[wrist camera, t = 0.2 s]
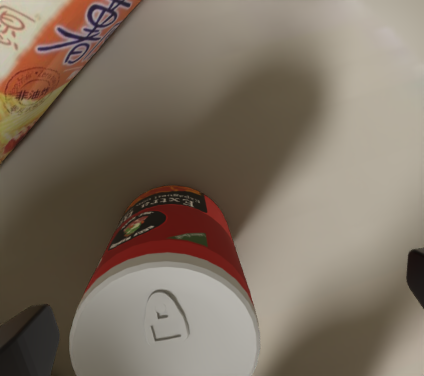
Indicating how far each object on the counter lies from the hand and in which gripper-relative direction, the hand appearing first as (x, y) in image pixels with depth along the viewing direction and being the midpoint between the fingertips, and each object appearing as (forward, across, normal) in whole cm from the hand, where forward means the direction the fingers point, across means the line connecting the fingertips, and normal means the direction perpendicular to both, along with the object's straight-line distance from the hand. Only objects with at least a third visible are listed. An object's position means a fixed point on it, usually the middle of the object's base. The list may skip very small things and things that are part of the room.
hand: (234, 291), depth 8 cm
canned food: (+15, +3, +5) cm, 16 cm away
